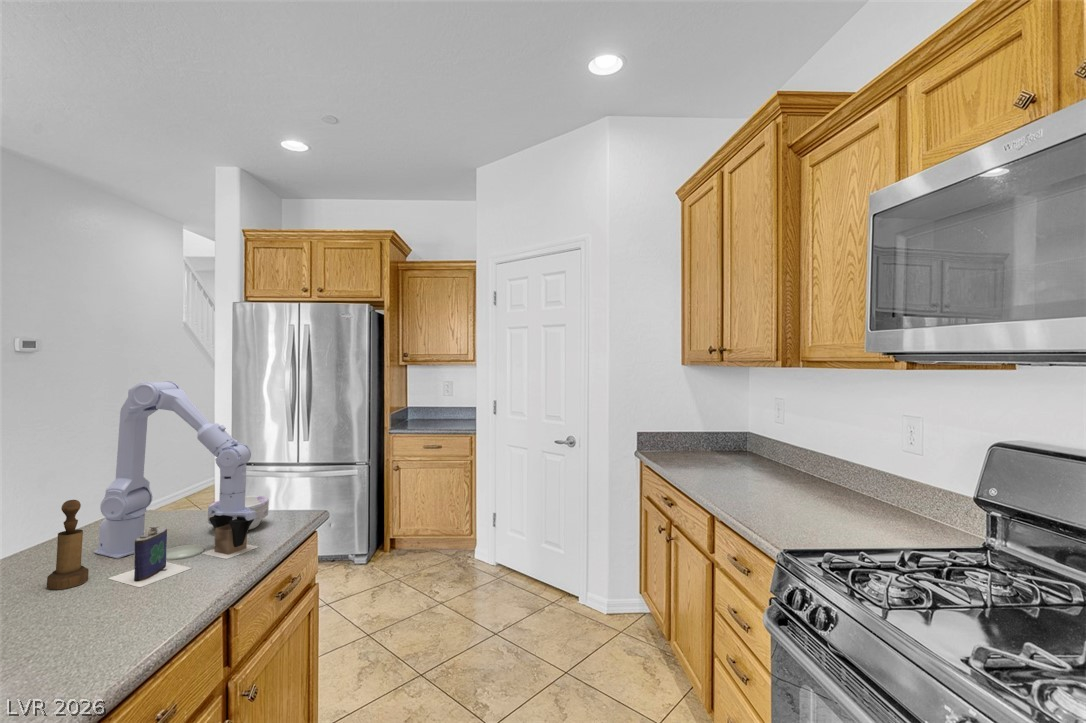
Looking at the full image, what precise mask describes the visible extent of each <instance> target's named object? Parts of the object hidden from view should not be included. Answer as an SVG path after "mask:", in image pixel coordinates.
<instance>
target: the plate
mask: <svg viewBox="0 0 1086 723" xmlns="http://www.w3.org/2000/svg"><path fill="white" fill-rule="evenodd" d="M205 549H206V548H205V546H204V545H203V544H198V543H197V544H196V543H193V544H184V545H183V544H182V545H179V546H178V545H177V546H173V547H170V548H166V561H169V560H170V561H174V560H175V561H177V560H184V559H188V558H192V557H193V558H194V557H196V556H199V555H200V554H201V553H204V552H205ZM201 555H202V554H201Z"/></svg>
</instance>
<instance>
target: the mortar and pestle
mask: <svg viewBox="0 0 1086 723" xmlns="http://www.w3.org/2000/svg"><path fill="white" fill-rule="evenodd" d="M81 506H82V504H81V502H80V501H79V500H77V499H70V500H66V501H65V502H63V504H62V505H61V512H62V513H63V514H64V515H65V517H66V518H65V521H63V527H64V531H60V532H58V533H57V541H56V542H57V546H56V547H57V548H56V561H55V563H56V564H55V570H53V571H52V572H51V573H49V574H48V576H46V589H48V590H52V591H54V590H56V591H57V590H65V589H71V588H74V587H78V586H80V585H84V584H85V583H87V582H88V580H89V568H87V567H85V566H84V565H82V553H83V538H84V536H83V534H84V530H83V529H76V528H77V525H78V522H79V519H77V518H76V515H77V513H78V512H79V511H80V508H81Z"/></svg>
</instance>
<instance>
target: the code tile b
mask: <svg viewBox="0 0 1086 723" xmlns="http://www.w3.org/2000/svg"><path fill="white" fill-rule="evenodd" d="M257 548H259V546H258V545H252V544H247V546H246V548H245V549H243V550H240V551H237V552H234V553H232V554H229V555H227V554H223V553H218V552H214V551H215V548H213V549H209V550H207V551H204V552H202V553H201V555H205V556H211V557H215V558H219V559H224V560H228V559H231V558H234V557H236V556H238V555H239V556H240V555H242V554H244V553H246V552H249V551H252V550H255V549H257Z"/></svg>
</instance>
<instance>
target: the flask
mask: <svg viewBox="0 0 1086 723" xmlns="http://www.w3.org/2000/svg"><path fill="white" fill-rule="evenodd" d="M149 528H150V530H148V532H147V533H146V534H145V533H144V536H140V538H137V539H136V540H135V553H134V565H133V566H134V569H135V571H134V573H135V574H134V582H135V581H142V580H145V579H148V578H150V577H152V576H153V575H155V574H156V573H158V572H159V571H161V570H162V569H163V568H165V566H166V562H167V560H166V550H167V543H168V542H167V541H168V540H167V538H168V537H167V536H168V529H167V528H166V527H159V525H158V526H156V525H151V526H149Z"/></svg>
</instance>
